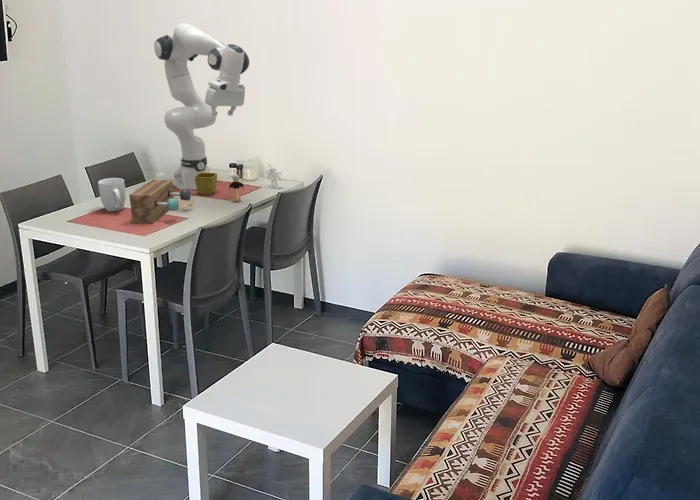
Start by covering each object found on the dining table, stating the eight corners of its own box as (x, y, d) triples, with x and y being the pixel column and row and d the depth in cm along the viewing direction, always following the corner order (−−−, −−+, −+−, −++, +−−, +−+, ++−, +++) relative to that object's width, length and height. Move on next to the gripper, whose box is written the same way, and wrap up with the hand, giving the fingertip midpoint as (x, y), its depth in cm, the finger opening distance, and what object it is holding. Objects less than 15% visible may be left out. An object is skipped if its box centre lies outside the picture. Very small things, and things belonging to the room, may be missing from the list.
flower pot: (218, 191, 362) (217, 172, 359) (214, 196, 354) (212, 177, 351) (200, 190, 363) (199, 172, 360) (195, 195, 355) (194, 177, 352)
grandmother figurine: (230, 203, 343) (228, 176, 338) (228, 201, 346) (226, 174, 342) (246, 201, 345) (245, 174, 341) (244, 199, 349) (242, 172, 344)
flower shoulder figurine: (264, 187, 367) (263, 163, 363) (269, 185, 371) (267, 161, 366) (280, 189, 363) (278, 165, 359) (284, 187, 366) (283, 163, 362)
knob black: (191, 198, 334) (190, 187, 333) (187, 201, 330) (186, 190, 328) (172, 198, 336) (171, 187, 334) (168, 201, 331) (167, 190, 329)
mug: (133, 212, 331) (130, 183, 327) (108, 217, 326) (104, 187, 321) (122, 204, 343) (119, 176, 339) (98, 208, 337) (94, 180, 333)
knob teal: (179, 208, 321) (177, 197, 319) (174, 212, 316) (173, 200, 314) (159, 207, 322) (158, 196, 320) (155, 211, 317) (154, 199, 315)
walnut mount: (174, 206, 340) (172, 180, 335) (152, 223, 316) (150, 195, 312) (155, 205, 341) (152, 179, 337) (132, 222, 318) (129, 195, 314)
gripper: (240, 82, 332) (234, 112, 337) (205, 81, 316) (199, 113, 321) (250, 86, 329) (244, 117, 334) (216, 85, 313) (209, 117, 318)
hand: (222, 115), depth 327 cm, fingers open, 8 cm apart
